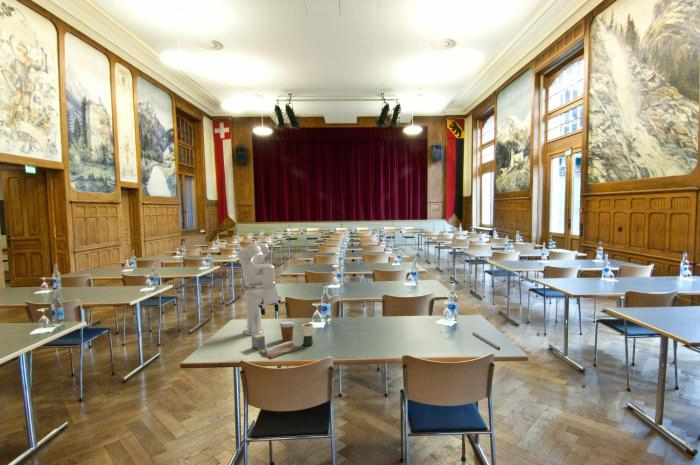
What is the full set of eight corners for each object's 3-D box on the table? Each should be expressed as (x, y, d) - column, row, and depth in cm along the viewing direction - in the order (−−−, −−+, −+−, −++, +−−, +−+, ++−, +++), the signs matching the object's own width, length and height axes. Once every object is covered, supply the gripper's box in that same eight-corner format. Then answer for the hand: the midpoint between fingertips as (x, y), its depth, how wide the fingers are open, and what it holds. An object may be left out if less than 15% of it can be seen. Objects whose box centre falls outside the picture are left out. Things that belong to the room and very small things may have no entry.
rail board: (259, 352, 221) (259, 347, 221) (286, 343, 235) (286, 338, 235) (271, 358, 211) (271, 353, 211) (299, 349, 225) (299, 344, 225)
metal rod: (474, 334, 246) (474, 331, 246) (500, 349, 219) (500, 346, 219) (472, 335, 245) (472, 332, 245) (497, 350, 219) (497, 346, 219)
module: (252, 347, 228) (251, 335, 228) (259, 345, 232) (258, 333, 231) (257, 350, 223) (257, 338, 223) (264, 348, 227) (264, 336, 226)
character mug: (317, 343, 235) (317, 323, 234) (315, 347, 228) (314, 326, 227) (301, 342, 236) (300, 322, 235) (298, 346, 229) (297, 326, 228)
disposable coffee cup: (297, 338, 244) (296, 320, 243) (289, 343, 235) (289, 325, 234) (285, 336, 248) (284, 319, 247) (277, 341, 239) (276, 323, 238)
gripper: (277, 282, 232) (278, 308, 233) (253, 287, 220) (254, 314, 221) (284, 284, 227) (285, 311, 228) (260, 288, 215) (261, 317, 216)
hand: (269, 312), depth 225 cm, fingers open, 9 cm apart
